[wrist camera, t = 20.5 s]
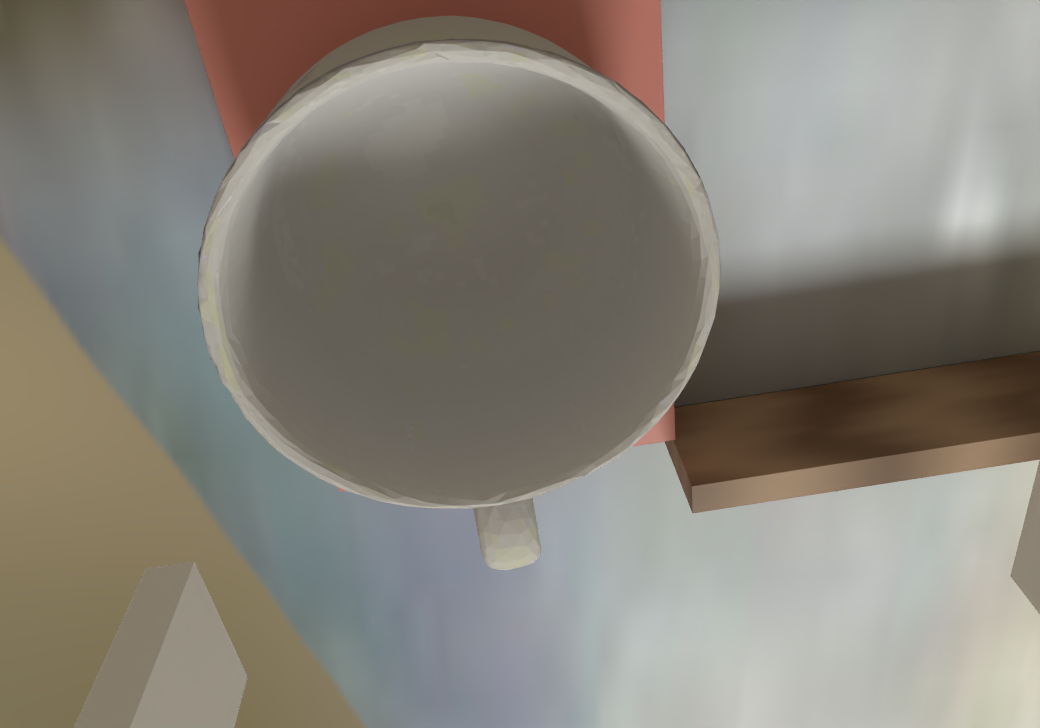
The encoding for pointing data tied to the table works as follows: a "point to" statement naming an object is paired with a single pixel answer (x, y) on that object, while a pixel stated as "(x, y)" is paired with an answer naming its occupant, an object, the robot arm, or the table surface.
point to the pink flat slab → (376, 3)
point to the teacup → (458, 272)
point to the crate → (858, 432)
